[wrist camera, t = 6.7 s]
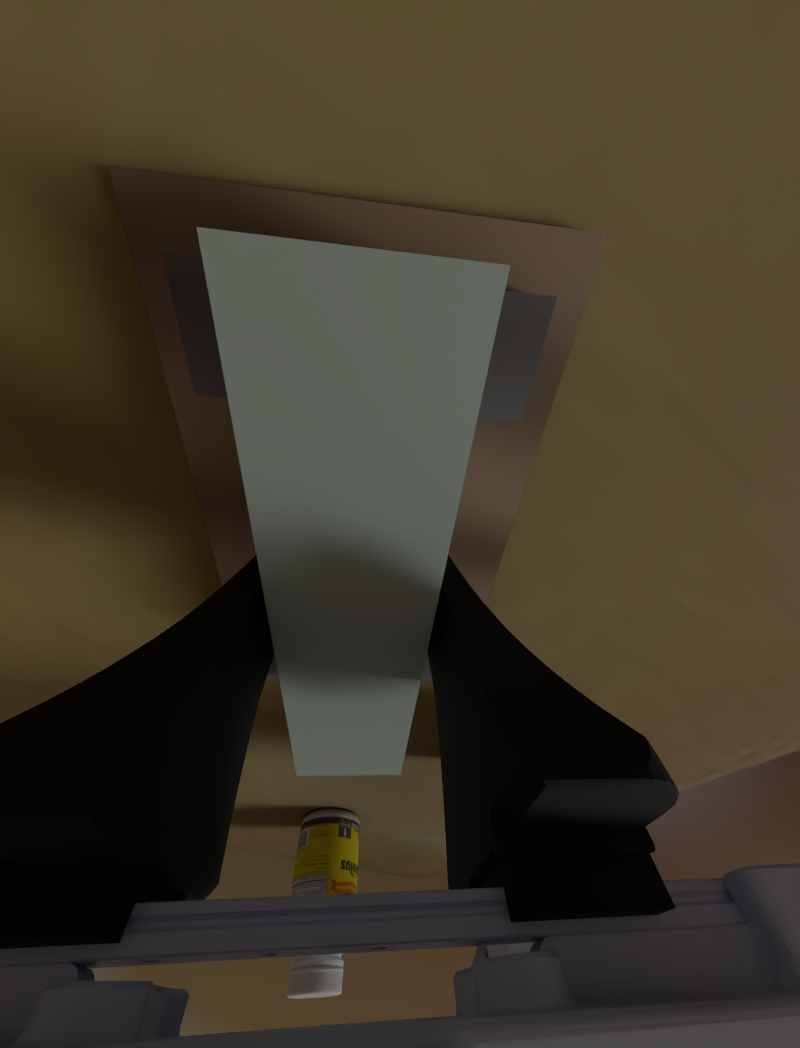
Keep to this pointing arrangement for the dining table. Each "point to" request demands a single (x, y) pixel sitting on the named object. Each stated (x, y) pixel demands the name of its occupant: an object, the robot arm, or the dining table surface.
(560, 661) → the dining table surface
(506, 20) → the dining table surface
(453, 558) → the cradle board
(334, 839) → the supplement bottle
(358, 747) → the block
